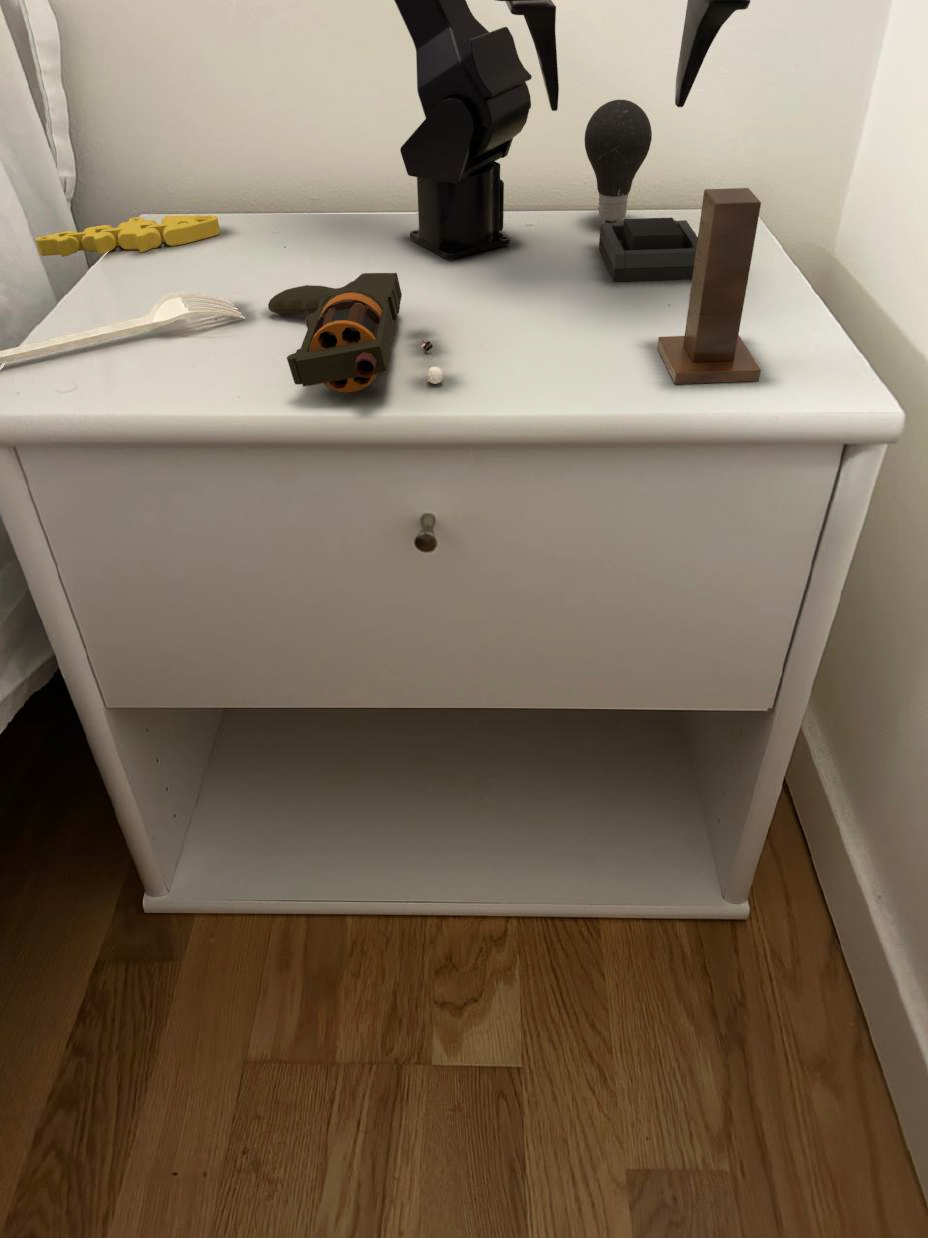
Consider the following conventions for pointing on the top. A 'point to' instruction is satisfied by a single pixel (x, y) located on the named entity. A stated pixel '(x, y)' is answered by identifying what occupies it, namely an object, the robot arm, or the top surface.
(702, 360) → the stand
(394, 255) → the top surface
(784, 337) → the top surface
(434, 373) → the figurine set
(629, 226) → the black block
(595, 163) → the light bulb
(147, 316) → the fork
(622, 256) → the base pad
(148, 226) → the toy
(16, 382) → the top surface
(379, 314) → the toy gun
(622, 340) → the top surface
